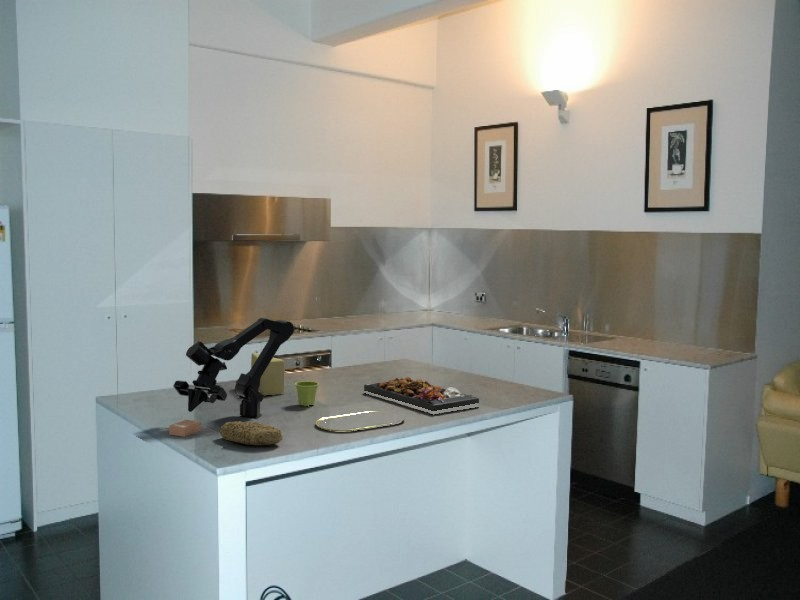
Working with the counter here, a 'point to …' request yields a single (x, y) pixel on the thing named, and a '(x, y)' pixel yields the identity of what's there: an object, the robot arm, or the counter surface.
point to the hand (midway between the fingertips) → (189, 411)
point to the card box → (185, 428)
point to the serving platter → (344, 416)
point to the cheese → (271, 376)
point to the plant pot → (306, 392)
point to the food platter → (421, 394)
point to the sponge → (250, 433)
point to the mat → (201, 432)
